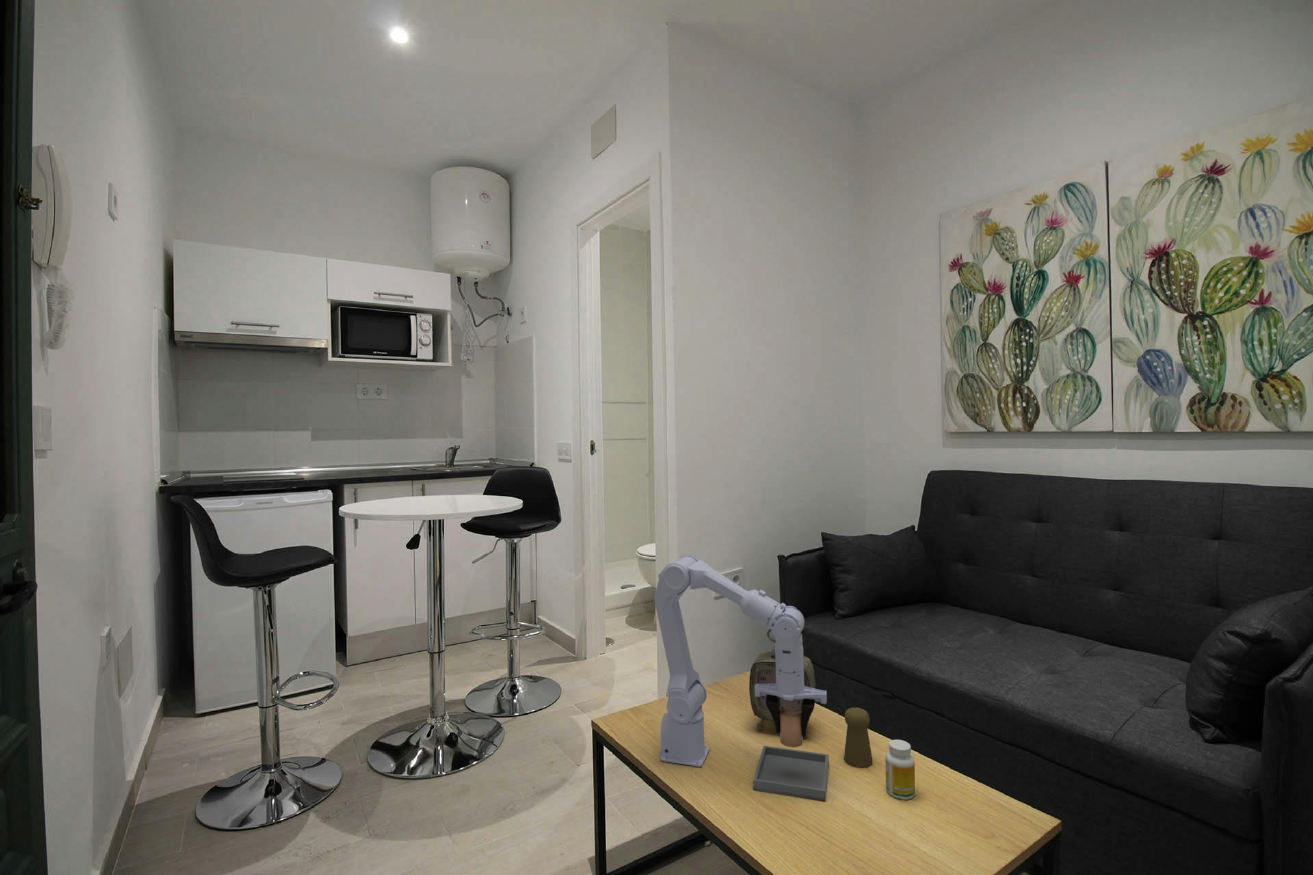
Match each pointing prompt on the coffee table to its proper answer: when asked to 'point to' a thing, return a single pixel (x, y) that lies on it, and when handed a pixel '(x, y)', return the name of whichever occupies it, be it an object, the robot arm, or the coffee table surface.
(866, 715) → the brown pawn figure
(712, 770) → the coffee table surface
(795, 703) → the tabletop clock
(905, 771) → the supplement bottle
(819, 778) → the tray
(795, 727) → the brown clay cylinder
